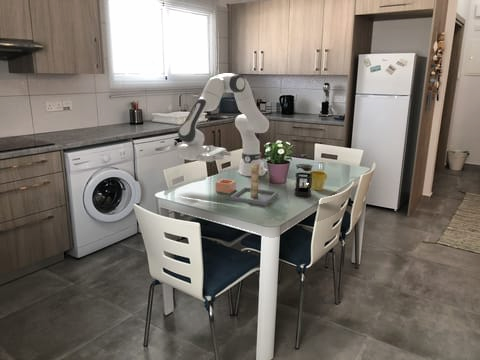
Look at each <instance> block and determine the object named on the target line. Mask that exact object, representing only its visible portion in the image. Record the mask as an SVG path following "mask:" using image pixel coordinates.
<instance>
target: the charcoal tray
mask: <svg viewBox="0 0 480 360" xmlns="http://www.w3.org/2000/svg"><path fill="white" fill-rule="evenodd" d="M244 192H251V187H248V186H245V187H242V188H241V189H240V190H237V191H235V193H233V194H231V195H229V200H230V201H236V202H242V203H247V205H252V206H258V207H267V206H268V205H269V204H271V202H273V201H274V200H275V199H276V198H278V197H279V191H277V190H270V189H269V190H268V189H262V188H261V189H260V188H258V198H256V199H255V198H246V197H240V195H241V194H243V193H244ZM238 196H239V197H238Z"/></svg>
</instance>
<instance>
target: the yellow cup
mask: <svg viewBox="0 0 480 360" xmlns="http://www.w3.org/2000/svg"><path fill="white" fill-rule="evenodd" d="M308 173H312V185H311V190H313V191H322V190H323V189H324V186H325V182H326V180H327V178H328V173H327V172H326V171H322V170H311V171H308Z"/></svg>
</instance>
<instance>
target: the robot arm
mask: <svg viewBox="0 0 480 360" xmlns="http://www.w3.org/2000/svg"><path fill="white" fill-rule="evenodd" d="M224 93H228V94H229V93H233V94H234V95H233V97H234V99H235V102H236V106H237V109H238V111H240V113H241V114H239V115H237V116H236V117H235V120H234V125H235V127H236V129H237V130H238V131H239V133H240V136H241V141H242V153H241V160H239V169H238V170H237V173H238V174H240V175H241V176H245V177H251V165H252V164H259V177H262V176H263V177H264V176H265V174H266V173H267V172H268V169H267V168H265V164H264V161H263V160H262V158H261V156H262V152H261V151H260V147H261V146H260V139H258V137H257V136H256V134H264V133H266V132H268V131H269V129H270V121H269V119H268V118H267V117H266V116H265V115H264V114H263V113H262V112H261V111H260V109H259V108H258V106H257V104H256V100H255V98H254V95H253V92H252V89H251V86H250V84H249V81H248V80H247V79H246V78H244V77H243V75H241V74H238V73H232V72H231V73H230V72H229V73H219V74H216V75H215V76H213V77H211V78H209V80H208V81H207V82H206V85H205V86H204V88H203V91H202V92H201V95H200V97H199V98H198V99H197V100H196V101H195V103H194V104H193V106H192V107H191V110H190V111H189V113H188V115H187V116H186V119H184V122H183V123H182V124H181V126H180V127H179V128H178V131H177V135H178V136H177V137H178V138H179V140H180V141H181V142H182V143H181V144H179V145H178V147H177V154H178V156H179V157H180V159H183V160H186V161H188V160H189V161H197V162H205V163H212V162H214V161H218V160H224V159H225V157H224V156H228V157H229V156H232V152H231V151H227V148H226V147H219V146H214V145H204V143H205V140H206V139H205V135H204V133H203V132H202V131H201V130H199V129H197V128H196V127H197V124H198V122H199V119H200V118H201V116H202V114H203V113H204V112H212V111H214V110H216V109H217V108H218V106H219V104H220V103H221V99H222V97H223V94H224Z"/></svg>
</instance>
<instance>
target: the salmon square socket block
mask: <svg viewBox="0 0 480 360" xmlns="http://www.w3.org/2000/svg"><path fill="white" fill-rule="evenodd" d="M236 186H237V180H233V179H225V178H221V179H220V180H218V181H216V182H215V192H217V193H225V194H231V193H233V192H235V191H236V188H237V187H236Z"/></svg>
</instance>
